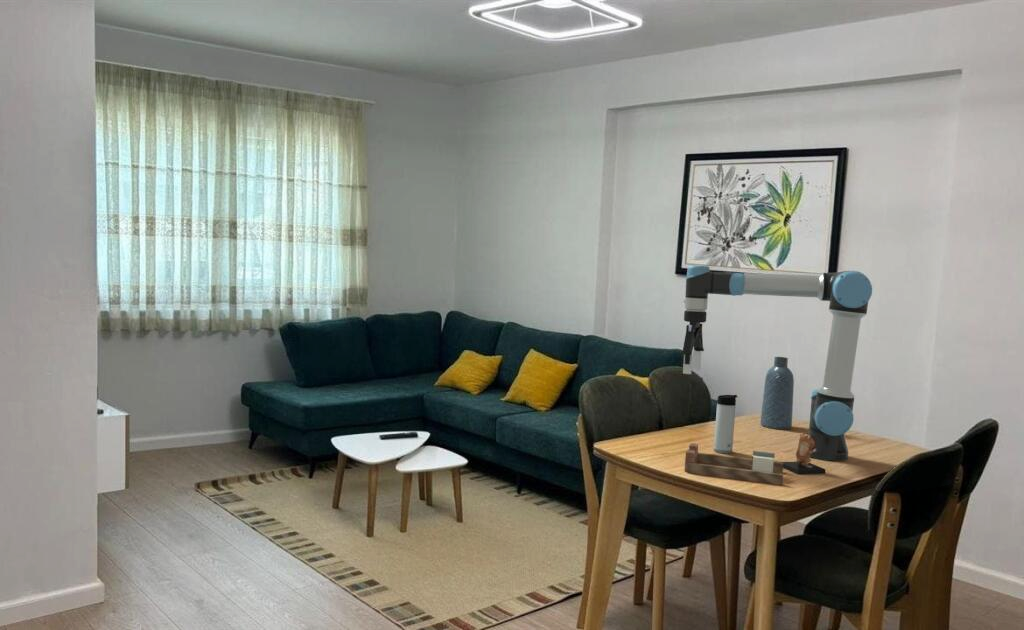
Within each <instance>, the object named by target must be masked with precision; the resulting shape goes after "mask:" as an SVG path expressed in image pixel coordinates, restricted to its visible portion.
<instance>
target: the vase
mask: <svg viewBox="0 0 1024 630" xmlns="http://www.w3.org/2000/svg"><path fill="white" fill-rule="evenodd" d="M788 360H789V358H788V357H784V356H775V357H774V360H773V361H774V363H773V366H771V367H770V368H769V369H768V371H767V373H766V375H765V380H764V387H763V395H762V397H763V398H762V405H761V412H760V413H761V415H760V422H759V423H760V426H762V427H764V426H765V427H764V428H767V427H768V428H769V429H772V428H774V430H789V428H790V429H791V428H792V427H793V410H794V409H793V408H794V407H793V405H794V387H795V386H794V385H795V384H794V382H795V379H794V374H793V372H792V370H791V369H790V368H789V367H788V363H789V362H788Z"/></svg>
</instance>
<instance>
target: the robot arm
mask: <svg viewBox="0 0 1024 630" xmlns="http://www.w3.org/2000/svg"><path fill="white" fill-rule="evenodd" d="M686 269H687V270H686V271H687V272H686V278H685V279H686V281H685V299H684V300H683V303H684V308H685V310H684V313H683V321H684V322H689V324H687V325H686V328H685V336H684V342H683V346H682V347H683V349H682V351H681V355H683V362H682V363H683V365H682V366H683V367H682V374H685V375H692V370H696V371H700V370H701V362H702V361H701V360H702V352H704V351H705V348H704V344H703V343H704V342H703V337H704V336H703V324H704V323H706V322H707V314H708V312H707V311H706V310H708V300H709V299H708V296H709V295H724V296H733V297H737V296H743V295H753V296H754V295H756V296H757V295H758V296H775V297H777V296H778V297H798V298H799V297H801V298H817V299H818V300H819V301H823V302H825V301H827V302H829V305H828V307H829V308H828V310H829V312H830V313H831V314H832V319H831V320H832V321H831V328H830V333H829V342H828V346H827V347H828V348H827V354H826V355H827V357H826V363H825V370H824V377H823V383H822V387H820V388H819V389H814V390H813V391H812V393H811V395H810V396H811V397H810V399H811V403H810V415H809V428H808V433H807V435H808V436H809V435H810V437H811V438H812V439H813V441H814V442H815V447H814V448H813V449H816V451H815V452H813V453H811V455H810V458H812V459H818V460H822V461H823V460H825V461H833V462H834V461H837V462H838V461H839V462H840V461H841V462H842V461H846V460H848V459H849V449H848V446H847V441H846V437H845V434H846V433H847V432H849V430H850V429H851V428H852V427H853V426H852V425H853V423H854V413H853V410H854V402H855V395H854V393H852V389H851V388H852V381H853V375H854V368H855V361H856V354H857V348H858V342H859V341H858V340H859V334H860V328H861V319H862V318H864V317H865V316H867V314H868V313H867V312H868V306H869V301H870V300H871V297H872V294H873V286H872V283H871V281H870V279H869V278H868V277H867V276H866V275H865V274H864V273H862V272H860V271H857V270H843V271H839V272H838V271H837V272H821V273H820V274H819V275H811V274H810V275H809V274H788V273H787V274H782V273H781V274H779V273H754V272H753V273H752V272H732V271H725V272H718V271H717V272H714V271H711V270H710V266H708V265H693V264H692V265H689V266H688V267H687V268H686ZM813 449H812V450H813Z"/></svg>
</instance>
